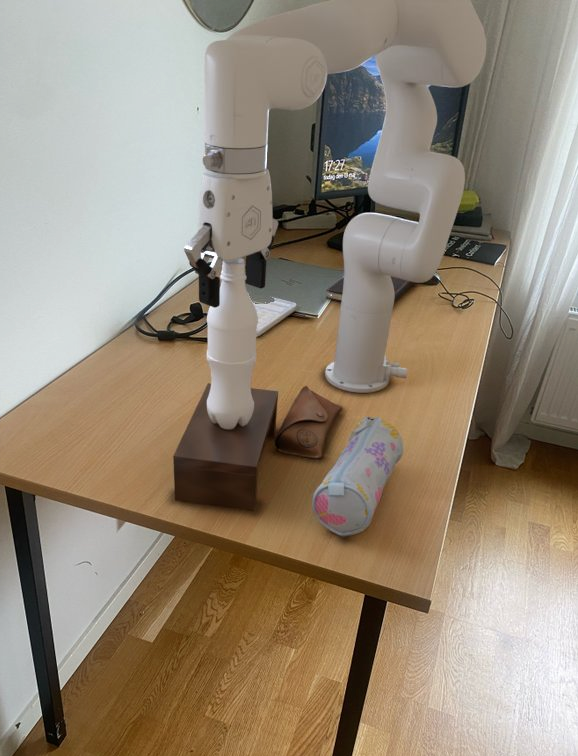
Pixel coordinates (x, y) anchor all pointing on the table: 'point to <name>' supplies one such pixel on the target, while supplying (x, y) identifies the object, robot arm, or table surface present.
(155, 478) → the table surface
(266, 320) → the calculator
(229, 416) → the water bottle
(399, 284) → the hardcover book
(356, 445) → the pencil case
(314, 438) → the sunglasses case
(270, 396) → the wooden block
